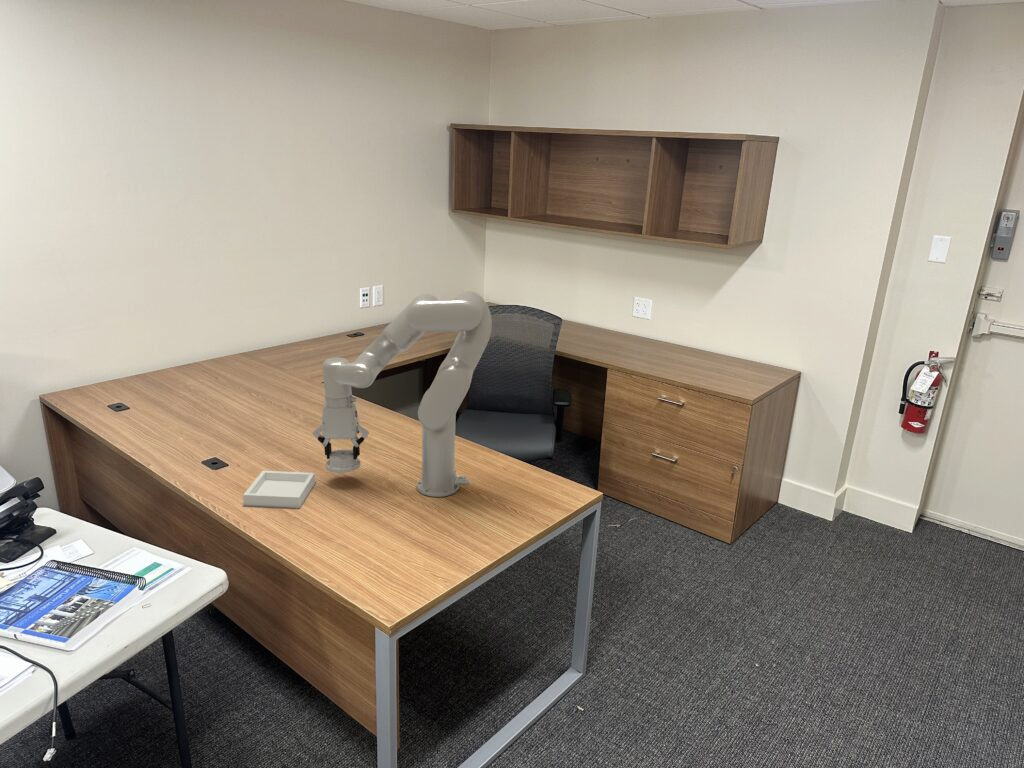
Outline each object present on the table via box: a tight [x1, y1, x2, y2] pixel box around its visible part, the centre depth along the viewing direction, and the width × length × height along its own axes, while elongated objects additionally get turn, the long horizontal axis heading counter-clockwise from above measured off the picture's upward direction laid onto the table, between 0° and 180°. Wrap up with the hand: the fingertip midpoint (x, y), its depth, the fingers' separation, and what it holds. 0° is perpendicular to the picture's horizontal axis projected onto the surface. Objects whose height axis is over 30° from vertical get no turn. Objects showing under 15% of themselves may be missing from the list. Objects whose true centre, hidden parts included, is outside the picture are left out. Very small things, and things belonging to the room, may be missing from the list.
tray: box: [242, 470, 316, 509], centre depth 204 cm, size 15×15×3 cm
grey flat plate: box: [242, 481, 317, 510], centre depth 205 cm, size 16×17×1 cm
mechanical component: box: [325, 448, 362, 474], centre depth 211 cm, size 10×4×10 cm
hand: (342, 457), depth 210 cm, fingers closed on mechanical component, 7 cm apart
